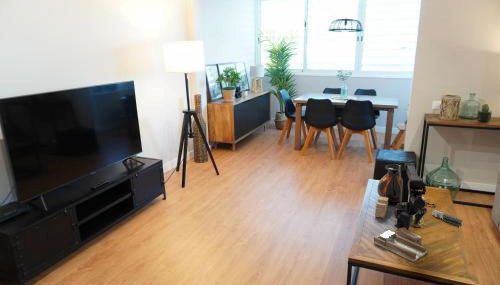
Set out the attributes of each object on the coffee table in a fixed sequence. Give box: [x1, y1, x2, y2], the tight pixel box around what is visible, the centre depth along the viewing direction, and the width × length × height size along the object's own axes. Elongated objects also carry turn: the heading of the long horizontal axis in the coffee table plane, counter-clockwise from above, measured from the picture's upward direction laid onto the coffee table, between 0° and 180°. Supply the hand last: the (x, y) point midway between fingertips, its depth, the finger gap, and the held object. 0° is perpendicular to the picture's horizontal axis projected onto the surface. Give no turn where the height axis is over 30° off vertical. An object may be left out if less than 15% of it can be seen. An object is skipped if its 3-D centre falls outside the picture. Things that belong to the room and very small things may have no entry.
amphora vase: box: [376, 163, 402, 207], centre depth 248 cm, size 22×22×28 cm
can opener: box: [431, 209, 463, 227], centre depth 224 cm, size 19×6×5 cm, turn 31°
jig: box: [373, 230, 428, 263], centre depth 194 cm, size 14×24×4 cm, turn 36°
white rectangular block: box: [379, 229, 396, 242], centre depth 200 cm, size 9×4×4 cm, turn 128°
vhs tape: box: [423, 199, 437, 209], centre depth 248 cm, size 14×8×2 cm, turn 149°
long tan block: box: [397, 227, 423, 246], centre depth 201 cm, size 5×14×5 cm, turn 21°
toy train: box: [374, 196, 388, 219], centre depth 234 cm, size 6×17×10 cm, turn 151°
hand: (411, 227), depth 192 cm, fingers open, 9 cm apart
